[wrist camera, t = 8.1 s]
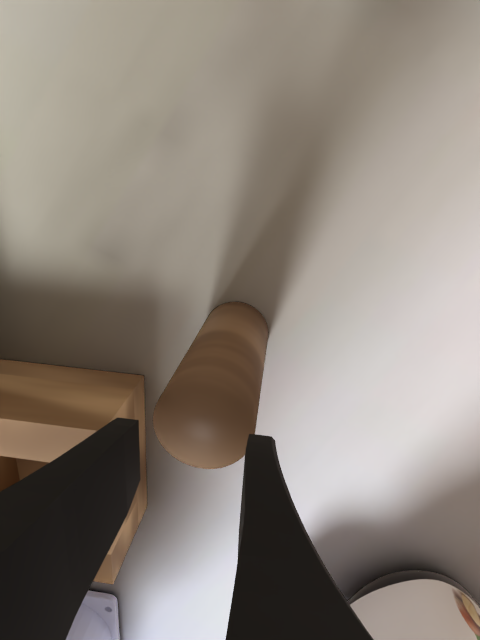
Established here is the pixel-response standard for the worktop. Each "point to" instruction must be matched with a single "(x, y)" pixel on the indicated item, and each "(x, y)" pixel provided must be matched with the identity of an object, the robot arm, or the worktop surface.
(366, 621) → the spread jar
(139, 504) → the socket block
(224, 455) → the dowel
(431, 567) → the worktop surface
